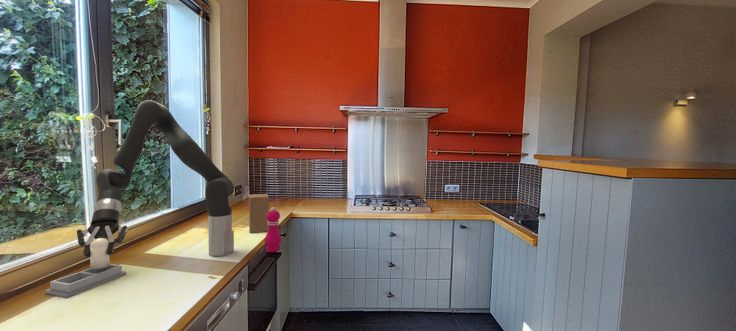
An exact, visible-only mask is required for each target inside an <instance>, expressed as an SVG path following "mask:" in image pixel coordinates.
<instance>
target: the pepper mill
mask: <svg viewBox="0 0 736 331" xmlns="http://www.w3.org/2000/svg"><path fill="white" fill-rule="evenodd" d="M266 218H267V220H268V223H267V224H268V232H266V235H265V238H264V244H265V245H266V246H265V251H266V252H269V253H276V252H279V251H280V250H281V245H280V244H281V242H282V236H281V234H280V232H279V228H278V227H279V220H280V218H281V215H280V211H278V210H276V207H274V206H272V207H271V208H270V211H269V212H268V213H267V215H266Z"/></svg>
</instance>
